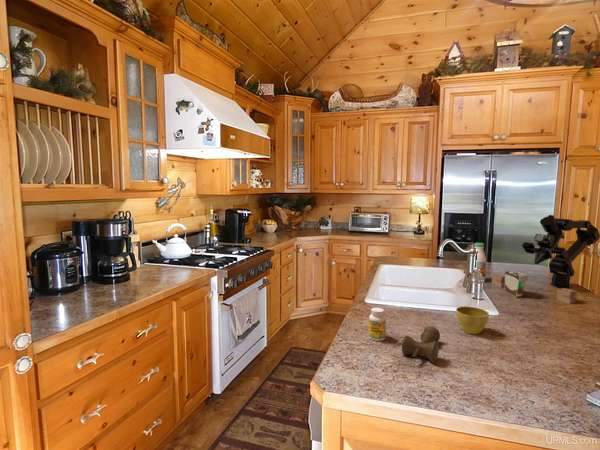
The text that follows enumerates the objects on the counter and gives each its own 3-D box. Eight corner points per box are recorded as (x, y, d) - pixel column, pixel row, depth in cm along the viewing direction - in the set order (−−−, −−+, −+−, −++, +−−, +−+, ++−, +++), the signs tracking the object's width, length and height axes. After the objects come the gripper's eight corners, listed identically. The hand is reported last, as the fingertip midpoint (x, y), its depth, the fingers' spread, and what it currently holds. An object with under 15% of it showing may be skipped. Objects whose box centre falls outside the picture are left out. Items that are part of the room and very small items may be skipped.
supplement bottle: (385, 335, 116) (386, 307, 115) (384, 342, 111) (385, 313, 110) (369, 333, 118) (370, 305, 117) (367, 340, 113) (368, 311, 112)
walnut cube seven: (563, 298, 156) (564, 287, 155) (576, 302, 152) (577, 290, 151) (556, 300, 154) (557, 289, 153) (569, 303, 149) (570, 292, 149)
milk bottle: (469, 281, 183) (471, 243, 181) (468, 277, 190) (470, 241, 188) (485, 283, 180) (488, 244, 178) (484, 279, 187) (486, 242, 185)
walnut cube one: (498, 283, 180) (499, 273, 179) (507, 286, 175) (508, 276, 174) (491, 284, 178) (492, 274, 177) (500, 287, 173) (501, 277, 172)
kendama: (447, 346, 111) (430, 371, 94) (416, 339, 116) (396, 362, 100) (448, 327, 110) (431, 350, 94) (417, 321, 116) (396, 341, 99)
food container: (532, 299, 155) (534, 277, 154) (518, 299, 155) (520, 277, 154) (515, 290, 167) (517, 270, 166) (502, 290, 168) (504, 270, 166)
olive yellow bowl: (461, 323, 128) (462, 304, 127) (491, 331, 120) (493, 311, 120) (450, 331, 121) (451, 311, 120) (481, 340, 113) (483, 319, 113)
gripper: (525, 225, 173) (509, 249, 170) (567, 230, 157) (549, 256, 153) (534, 240, 178) (518, 263, 174) (575, 246, 161) (559, 272, 157)
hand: (535, 263), depth 165 cm, fingers closed
